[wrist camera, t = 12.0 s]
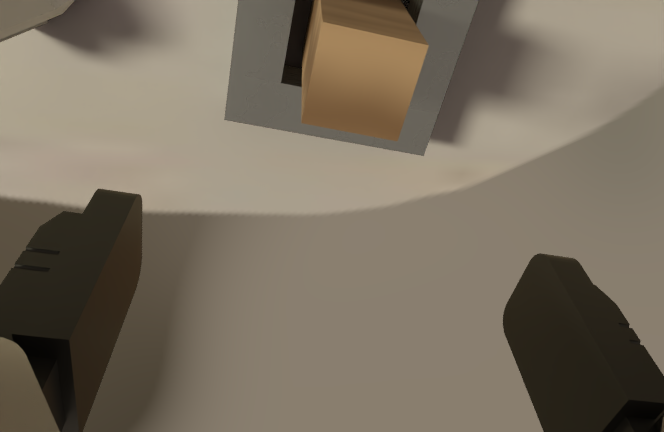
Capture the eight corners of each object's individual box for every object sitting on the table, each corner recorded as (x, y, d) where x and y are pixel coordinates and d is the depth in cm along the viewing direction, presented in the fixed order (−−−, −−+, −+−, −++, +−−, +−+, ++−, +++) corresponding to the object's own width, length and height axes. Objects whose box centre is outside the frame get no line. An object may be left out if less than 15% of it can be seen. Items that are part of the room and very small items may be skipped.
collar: (257, -126, 27) (252, -123, 24) (483, -69, 28) (500, -60, 26) (230, 99, 33) (224, 119, 31) (415, 134, 35) (423, 155, 32)
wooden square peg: (317, -28, 29) (322, 21, 21) (394, -10, 30) (428, 45, 22) (302, 51, 32) (301, 123, 23) (373, 66, 32) (397, 141, 24)
